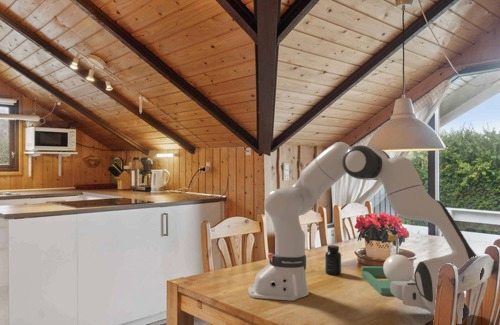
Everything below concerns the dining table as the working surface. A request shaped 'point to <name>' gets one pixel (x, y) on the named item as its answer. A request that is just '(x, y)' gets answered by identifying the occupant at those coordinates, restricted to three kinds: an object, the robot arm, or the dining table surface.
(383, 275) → the putting mat
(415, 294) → the robot arm
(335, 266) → the supplement bottle
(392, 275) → the ball
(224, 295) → the dining table surface
